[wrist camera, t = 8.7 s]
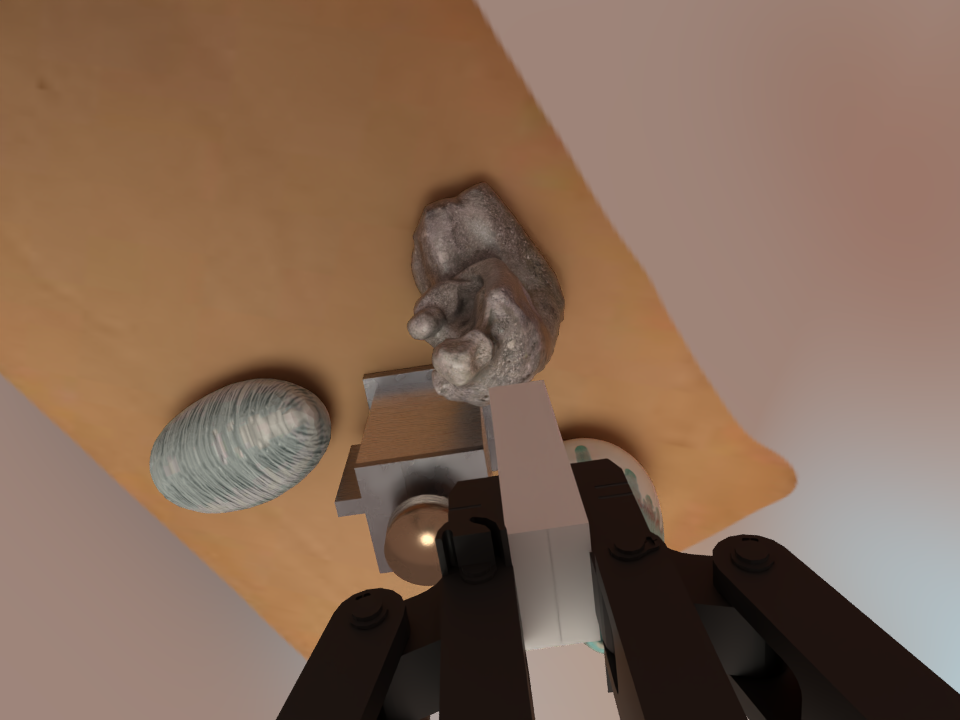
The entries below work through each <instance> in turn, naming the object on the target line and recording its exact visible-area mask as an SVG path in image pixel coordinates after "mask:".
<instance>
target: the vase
mask: <svg viewBox="0 0 960 720" xmlns="http://www.w3.org/2000/svg"><path fill="white" fill-rule="evenodd" d="M563 443H564V446H565V449H566V453H567V456H568V459H569V462H570V464H571V463H578V462H584V461H591V460H598V459H605V458H608V459H609V460H611V461H612V462H614V463H615V464H616V465H618V466H619V467H621V468H622V470H623V472H624V474H625V477H626V479H627V481H628V484H629V485H630V488H631V490H632V492H633V495H634V496H635V499H636V501H637V503H638V505H639V508H640V510H641V512H642V514H643V516H644V519H645V521H646V523H647V525H648V527H649V530H650V532H652V533H654V534H656V535H658V536H659V537H660V538H661V539H662V540H663V542H664V528H663V519H662V513H661V509H660V504H659V500H658V497H657V494H656V491H655V488H654V485H653V483H652V481H651V479H650V477H649V475H648V474H647V472H646V471H645V469H644V468H643V467H642V466H641V464H640V463H639V462H638V461H637V460H636V459H635V458H634V457H633V456H632V455H630V454H629V453H628V452H627V451H625V450H623V449H622V448H620V447H618V446H616V445H614V444H612V443H609V442H607V441H603V440H599V439H593V438H575V439H569V440H565V441H563ZM599 629H600V627H599ZM600 639H601V640H600V641H593V642H586V643H584V644H585V645H587V646H588V647H590V648H591V649H593V650H595V651H597V652H599V653H603V654H604V645H603V638H602V635H601V631H600Z"/></svg>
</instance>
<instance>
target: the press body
mask: <svg viewBox="0 0 960 720" xmlns="http://www.w3.org/2000/svg"><path fill="white" fill-rule="evenodd" d="M434 369H435V368H434V366H433V365H426V366H420V367H413V368H406V369H399V370H392V371H386V372H379V373H372V374H365V375H364V377H363V383H364V387H365V392H366V396H367V401H368V405H369V410H370V412H369V416H368V420H367V424H366V427H365V431H364V435H363V438H362V442H361V444H358V445H351V448H350V452H349V455H348V459H347V462H346V465H345V469H344V472H343V476H342V479H341V482H340V486H339V489H338V492H337V496H336V499H335V505H336V509H337V513H338V517H342V516H349V515H356V514H363V513H365V514H366V518H367V522H368V526H369V530H370V534H371V538H372V542H373V546H374V551H375V555H376V559H377V563H378V567H379V571H380V573H387V572H393V571H392V570H391V568H390V567H389V565H388V563H387V561H386V558H385V554H384V545H385V538H386V532H387V526H388V521H389V518H390V516H391V514H392V512H393V511H394V510H395V509H396V508H397V506H399V505H400V504H401V503H402V502H404V501H406V500H408V499H410V498H412V497H415V496H419V495H439V496H442V497H445V498H448V495H449V493H450V492H451V490H452V489H453V487H454V486H455V484H456V483H457V481H464V480H471V479H478V478H485V477H491V476H493V475H492V471H497V470H498V465H497V456H496V448H495V439H494V431H493V423H492V414H491V406H490V405H487V406H484V407H479V406H475V405H471V404H469V403H466V402H457V401H451V400H447V399H446V398H444V397H443V396H441V395H438V393H437V392H436V390H435V388H434V386H433V384H432V371H433V370H434Z"/></svg>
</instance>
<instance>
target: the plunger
mask: <svg viewBox="0 0 960 720" xmlns="http://www.w3.org/2000/svg"><path fill="white" fill-rule="evenodd" d="M448 511H449V510H448V498H445V497H442V496H439V495H419V496H415V497H412V498H410V499H408V500H406V501H404V502H402V503H401V504H400V505H399V506H397V508H396V509H395V510H394V511H393V512H392V514H391V516H390V518H389V521H388V526H387V532H386V538H385V545H384V554H385V558H386V561H387V563H388V565H389V567H390V568H391V570H392V571H393V572H394V573H395V574H396V575H397V576H399V577H400V578H402V579H403V580H405V581H407V582H410V583H413V584H417V585H423V586H432V585H436V584H437V583H438V582H439V580H440V579H441V578H442V573H441V568H440V563H439V558H438V553H437V548H436V543H435V537H436V534H437V531H438V530H439V529H440V528H441V527H442V526H443V525H444V524H445V523H446V522H448Z"/></svg>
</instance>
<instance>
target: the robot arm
mask: <svg viewBox="0 0 960 720" xmlns="http://www.w3.org/2000/svg"><path fill="white" fill-rule="evenodd" d="M488 389H489V397H490V406H491V414H492V423H493V431H494V439H495V448H496V456H497V465H498V473H499V475H498V476H491V477H485V478H478V479H471V480H464V481H457V483H456V484H455V486H454V487H453V489H452V490H451V492H450V493H449V495H448V510H449V511H448V522H446V523H445V524H444V525H443V526H442V527H441V528H440V529H439V530H438V531H437V534H436V537H435V543H436V548H437V553H438V558H439V563H440V568H441V573H442V578H441V579H440V580H439V582H438V583H437V584H436V585H434V586H433V587H431V588H430V589H429V590H427V591H425V592H423V593H421V594H419V595H417V596H414V597H412V598H409V599H406V600H404V601H403V599H402V597H401V596H400V595H399V594H397V593H396V592H394V591H393V590H388V589H383V588H377V589H368V590H365V591H362V592H359V593H357V594H354V595H352V596H351V597H350V598H348V599H347V600H345V601H344V602H342V603H341V605H340V606H339V607H338V608H337V610H336V611H335V612H334V614H333V615H332V617H331V619H330V621H329V623H328V625H327V626H326V628H325V630H324V632H323V634H322V636H321V638H320V639H319V641H318V643H317V645H316V647H315V649H314V650H313V652H312V654H311V656H310V658H309V660H308V661H307V663H306V665H305V667H304V669H303V671H302V673H301V674H300V676H299V678H298V680H297V682H296V684H295V686H294V687H293V689H292V691H291V693H290V695H289V696H288V698H287V700H286V702H285V704H284V706H283V708H282V710H281V711H280V713H279V715H278V717H277V719H276V720H430V715H431V714H434V713H436V712H438V711H439V720H535V715H534V707H533V700H532V692H531V685H530V678H529V671H528V664H527V657H526V651H529V650H535V649H542V648H550V647H557V646H564V645H572V644H579V643H586V642H593V641H600V640H601V639H600V631H601V635H602V638H603V645H604V655H605V665H606V675H607V685H608V692H613V693H614V697H615V701H616V705H617V708H618V712H619V716H620V720H748V719H749V720H960V694H959V693H958V692H956V691H955V690H954V689H953V688H952V687H951V686H949V685H948V684H947V683H946V682H945V681H943V680H942V679H941V678H940V677H938V675H936V674H935V673H934V672H933V671H932V670H930V669H929V668H928V667H927V666H926V665H924V664H923V663H922V662H921V661H920V660H918V659H917V658H916V657H915V656H913V655H912V654H911V653H910V652H909V651H908V650H907V649H905V648H904V647H903V646H902V645H901V644H899V643H898V642H897V641H896V640H895V639H893V638H892V637H891V636H890V635H889V634H887V633H886V632H885V631H884V630H883V629H882V628H880V627H879V626H878V625H877V624H876V623H874V622H873V621H872V620H871V619H870V618H868V617H867V616H866V615H865V614H864V613H862V612H861V611H860V610H859V609H858V608H856V607H855V606H854V605H853V604H852V603H850V602H849V601H848V600H847V599H846V598H845V597H843V596H842V595H841V594H840V593H839V592H837V591H836V590H835V589H834V588H833V587H832V586H830V585H829V584H828V583H827V582H826V581H824V580H823V579H822V578H821V577H820V576H818V575H817V574H816V573H815V572H814V571H812V570H811V569H810V568H809V567H808V566H806V565H805V564H804V563H803V562H802V561H800V560H799V559H798V558H797V557H796V556H795V555H793V554H792V553H791V552H790V551H788V550H787V549H786V548H785V547H784V546H782V545H780V544H778V543H777V542H775V541H774V540H771V539H768V538H765V537H761V536H757V535H744V534H742V535H737V536H731V537H728V538H726V539H724V540H722V541H720V542H718V544H717V545H716V546H715V548H714V549H713V556H706V555H694V554H687V553H681V552H678V551H675V550H671V549H669V548H667V546H666V544H665V543H664V542H663V540H662V539H661V538H660V537H659V536H658V535H656V534H654V533H652V532H650V530H649V527H648V525H647V523H646V521H645V519H644V516H643V514H642V512H641V510H640V508H639V505H638V503H637V501H636V499H635V496H634V495H633V492H632V490H631V488H630V485H629V484H628V481H627V479H626V477H625V474H624V472H623V470H622V468H621V467H619V466H618V465H616V464H615V463H614V462H612V461H611V460H609V459H608V458H605V459H598V460H591V461H584V462H578V463H571V464H570V462H569V459H568V456H567V453H566V449H565V446H564V443H563V440H562V437H561V434H560V431H559V427H558V424H557V421H556V418H555V415H554V412H553V409H552V405H551V402H550V399H549V396H548V393H547V390H546V386H545V383H544V380H539V381H532V382H526V383H519V384H512V385H505V386H498V387H492V388H488ZM599 627H600V629H599ZM746 716H747V717H748V719H747V717H746Z"/></svg>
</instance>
